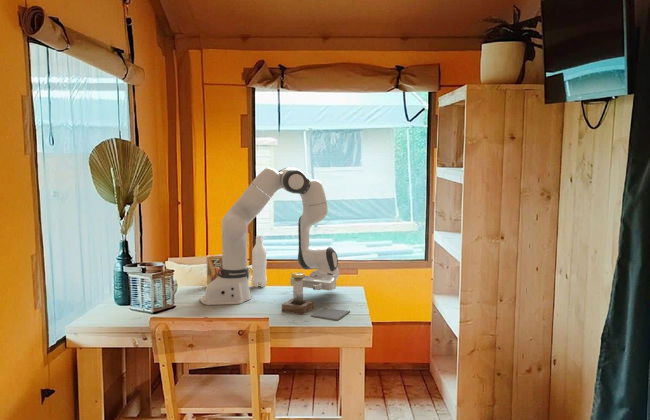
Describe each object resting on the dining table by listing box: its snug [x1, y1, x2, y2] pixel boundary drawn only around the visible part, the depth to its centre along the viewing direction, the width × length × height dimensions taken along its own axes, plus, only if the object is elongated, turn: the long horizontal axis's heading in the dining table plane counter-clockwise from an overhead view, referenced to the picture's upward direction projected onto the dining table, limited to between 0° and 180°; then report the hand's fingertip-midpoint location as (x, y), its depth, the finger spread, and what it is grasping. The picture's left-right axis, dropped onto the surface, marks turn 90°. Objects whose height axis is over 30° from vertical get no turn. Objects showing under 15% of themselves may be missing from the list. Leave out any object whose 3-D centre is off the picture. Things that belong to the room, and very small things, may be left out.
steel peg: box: [290, 272, 306, 305], centre depth 219 cm, size 6×6×15 cm
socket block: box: [281, 298, 315, 315], centre depth 220 cm, size 10×10×3 cm
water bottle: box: [251, 235, 268, 288], centre depth 256 cm, size 7×7×25 cm
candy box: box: [206, 254, 223, 286], centre depth 257 cm, size 9×4×15 cm, turn 111°
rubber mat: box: [310, 306, 351, 322], centre depth 213 cm, size 12×12×1 cm
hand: (304, 286), depth 224 cm, fingers open, 8 cm apart
